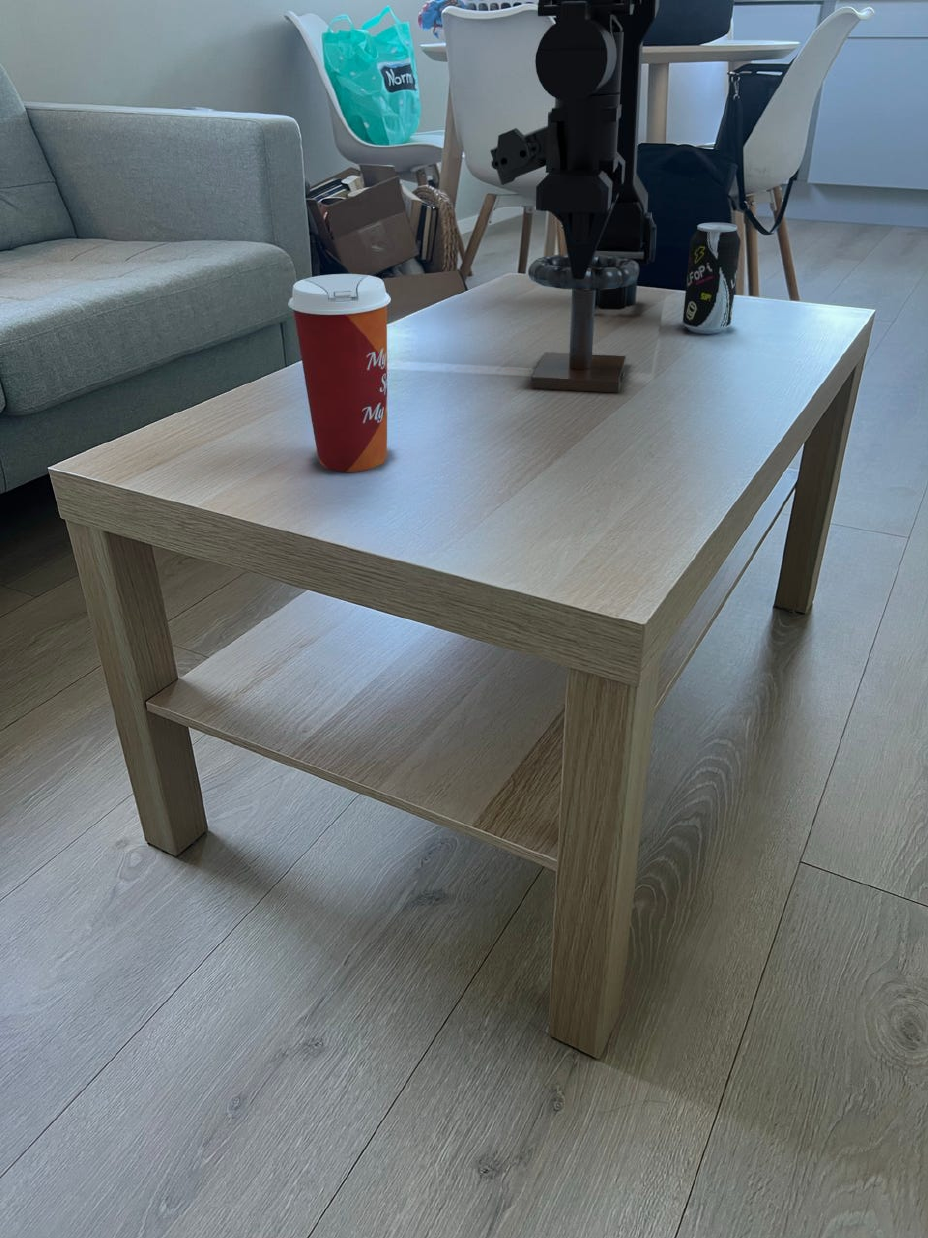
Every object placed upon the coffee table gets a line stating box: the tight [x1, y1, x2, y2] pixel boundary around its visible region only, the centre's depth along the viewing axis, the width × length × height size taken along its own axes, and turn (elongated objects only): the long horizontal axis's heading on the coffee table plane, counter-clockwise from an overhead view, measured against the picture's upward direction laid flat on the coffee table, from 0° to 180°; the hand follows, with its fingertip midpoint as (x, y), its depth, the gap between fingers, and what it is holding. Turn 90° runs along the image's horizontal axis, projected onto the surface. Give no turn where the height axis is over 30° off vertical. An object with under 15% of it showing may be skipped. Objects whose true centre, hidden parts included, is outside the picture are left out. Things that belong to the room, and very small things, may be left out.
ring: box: [527, 253, 640, 291], centre depth 97 cm, size 11×11×2 cm
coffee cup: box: [288, 273, 392, 473], centre depth 81 cm, size 8×8×15 cm
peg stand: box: [531, 290, 627, 394], centre depth 100 cm, size 9×9×9 cm
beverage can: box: [682, 222, 742, 335], centre depth 115 cm, size 6×6×12 cm
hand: (579, 276), depth 93 cm, fingers closed on ring, 2 cm apart
